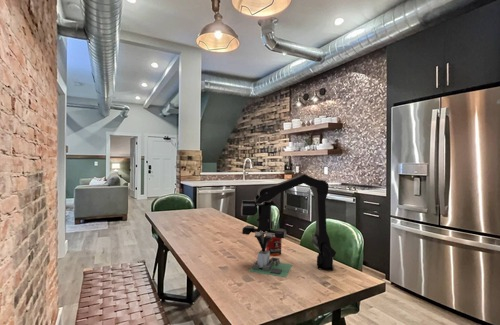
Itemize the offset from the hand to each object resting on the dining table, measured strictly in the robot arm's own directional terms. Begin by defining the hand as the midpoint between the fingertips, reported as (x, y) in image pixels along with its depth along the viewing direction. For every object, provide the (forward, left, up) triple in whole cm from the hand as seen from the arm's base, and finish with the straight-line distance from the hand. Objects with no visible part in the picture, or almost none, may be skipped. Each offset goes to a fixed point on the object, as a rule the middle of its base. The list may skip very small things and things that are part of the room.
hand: (263, 251), depth 123 cm
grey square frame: (0, 0, -7) cm, 7 cm away
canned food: (+1, -20, -8) cm, 22 cm away
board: (-3, 0, -8) cm, 9 cm away
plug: (0, 0, -6) cm, 6 cm away
